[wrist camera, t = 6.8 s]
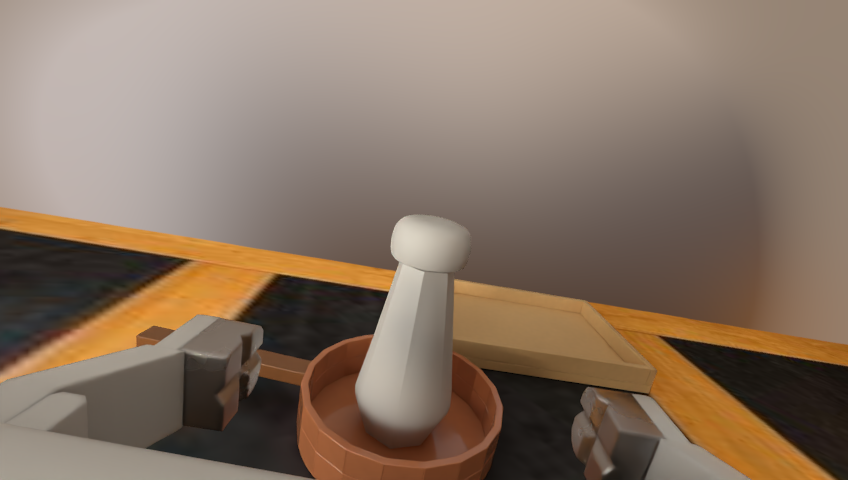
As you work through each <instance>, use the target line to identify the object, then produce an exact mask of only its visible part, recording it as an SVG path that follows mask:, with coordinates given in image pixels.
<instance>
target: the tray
mask: <svg viewBox="0 0 848 480" xmlns="http://www.w3.org/2000/svg"><path fill="white" fill-rule="evenodd" d="M453 351H454V352H456V353H458V354H460V355H462V356H464V357H465V358H467V359H468V360H469V361H470V362H472V363H473V364H474V365H476V366H477V367H478V368H483V369H490V370H497V371H503V372H510V373H516V374H523V375H530V376H536V377H543V378H549V379H556V380H562V381H569V382H576V383H582V384H589V385H595V386H602V387H609V388H615V389H622V390H628V391H635V392H641V393H649V391H650V389H651V385H652V383H653V381H654V378H655V375H656V373H657V370H656V369H655V368H654V367H653V366H652V365H651V364H650V363H649V362H648V361H647V360H646V359H645V358H644V357H643V356H642V355H641V354H640V353H639V352H638V351H637V350H636V349H635V348H634V347H633V346H632V345H631V344H630V343H629V342H628V341H627V340H626V339H625V338H624V337H623V336H622V335H621V334H620V333H619V332H618V331H617V330H616V329H615V328H614V327H613V326H612V325H611V324H609V323H608V322H607V321H606V320H605V319H604V318H603V317H602V316H601V315H600V314H599V313H598V312H597V311H596V310H595V309H594V308H593V307H592V306H591V305H590V304H589V303H588V302H587V301H584V300H578V299H572V298H566V297H560V296H554V295H548V294H542V293H536V292H530V291H523V290H518V289H511V288H505V287H500V286H493V285H488V284H481V283H475V282H469V281H463V280H457V279H454V311H453Z"/></svg>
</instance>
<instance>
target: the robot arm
mask: <svg viewBox="0 0 848 480" xmlns="http://www.w3.org/2000/svg"><path fill="white" fill-rule="evenodd" d="M262 343H263V329H262V327H261V326H258V325H253V324H248V323H243V322H238V321H233V320H228V319H223V318H220V317H214V316H208V315H196V316H195V317H194V318H192V319H191V320H189V321H188V322H187V323H185V324H184V325H182V326H181V327H180V328H178V329H177V330H175V331H174V332H173V333H171V334H170V335H168V336H167V337H166V338H164V339H163V340H161V341H160V342H159V343H157V344H156V345H148V344H147V345H143V346H139V347H135V348H131V349H127V350H123V351H119V352H115V353H111V354H107V355H103V356H99V357H95V358H91V359H87V360H83V361H79V362H75V363H71V364H67V365H63V366H59V367H55V368H51V369H47V370H44V371H40V372H36V373H32V374H28V375H24V376H20V377H16V378H12V379H8V380H6V381H4V382H2V383H0V480H316V479H310V478H305V477H299V476H294V475H288V474H282V473H277V472H271V471H266V470H260V469H255V468H249V467H244V466H238V465H233V464H227V463H222V462H216V461H210V460H205V459H199V458H194V457H188V456H183V455H177V454H172V453H166V452H161V451H155V450H150V449H145V448H146V447H148V446H150V445H152V444H154V443H155V442H157V441H159V440H161V439H163V438H164V437H166V436H168V435H170V434H172V433H173V432H175V431H177V430H179V429H181V428H182V425H183V426H190V427H196V428H203V429H210V430H216V431H223V429H224V428H225V427H226V425H227V424H228V423H229V421H230V420H231V419H232V417H233V416H234V415H235V413H236V412H237V411H238V402H239V401H241V400H243V399H246V398H247V397H248V396H249V394H250V393H251V392H252V390H253V388H254V386H255V384H256V381H257V379H258V376H259V372H260V367H261V358H260V356H259V354H258V353H257V351H256V350H257V349H258V348H259V347H260V345H261V344H262ZM580 402H581V404H582V407H583V409H584V410H583V411H582V412H580V413H579V414H578V415H576V416H575V419H574V422H573V426H572V438H571V440H572V445H573V450H574V452H575V455H576V457H577V458H578V459H579V460H580V461H581V462H582V463H583V464H584V465H585V466H586V468H585V471H584V476H585V478H586V480H751V479H750V478H748V477H747V476H745V475H744V474H742V473H740V472H739V471H737V470H736V469H734V468H733V467H731V466H730V465H728V464H726V463H725V462H723V461H722V460H720V459H719V458H717V457H715V456H714V455H712V454H711V453H709V452H708V451H706V450H705V449H703V448H701V447H700V446H698V445H695V444H691V443H690V442H689V441H688V440H687V438H686V437H685V436H684V435H683V434H682V433H681V431H680V430H679V429H678V428H677V427H676V425H675V424H674V423H673V422H672V421H671V419H670V418H669V417H668V416H667V415H666V413H665V412H664V411H663V410H662V409H661V407H660V406H659V405H658V404H657V403H656V401H655V400H654V399H652V398H650V397H649V396H644V395H637V394H630V393H624V392H617V391H611V390H605V389H598V388H591V387H587V388H586V389H585V391H584V392H583V395H582V398H581V400H580Z"/></svg>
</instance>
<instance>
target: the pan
mask: <svg viewBox="0 0 848 480" xmlns="http://www.w3.org/2000/svg"><path fill="white" fill-rule="evenodd" d="M373 336H374V335H365V336H360V337H356V338H351V339H346V340H343V341H341V342H339V343H337V344H335V345H333V346H331V347H328V348H326V349H325V350H323V351H322V352H321V353H320V354H319V355H318V356H317V357H316V358H315V359H314V360H313V361H312V362H310V363H309V365H308V367H307V370H306V372H305V375H304V377H303V379H302V382H301V388H300V397H299V405H298V414H297V423H296V424H297V443H298V447H299V451H300V454H301V457H302V459H303V461H304V463H305V465H306V467H307V468H308V470H309V471H310V473H311V474H312V476H313V477H314V478H315V479H316V480H484V479H485V477H486V475H487V473H488V471H489V469H490V467H491V464H492V460H493V456H494V453H495V449H496V445H497V442H498V438H499V434H500V431H501V425H502V415H503V406H502V403H501V400H500V397H499V395H498V392H497V389H496V387H495V386H494V385H493V383H492V382H491V381H490V380H489V378H488V377H487V376H486V375H485V373H484V372H483V371H482V370H481V369H480V368H478V367H477V366H476V365H474V364H473V363H472V362H470V361H469V360H468V359H467V358H465V357H464V356H462V355H460V354H458V353H456V352H454V351H453V352H452V393H451V403H450V408H449V410H448V413H447V415H446V416H445V417H444V418H443V419H442V420H441V421H440V422H439V423H438V425H437V426H436V427H435V428H434V429H433V430H432V432H431V433H430V434H429V435H428V437H427V438H426V439H425V440H424V441H423V443H422V444H421V445H418V446H410V447H401V448H393V449H390V448H388V447H387V446H385V445H384V444H383V443H381V442H380V441H378V440H377V439H375V438H374V437H372V436H371V435H369V434H368V433H366V431H365V427H364V424H363V420H362V417H361V414H360V410H359V407H358V403H357V399H356V395H355V384H356V381H357V378H358V376H359V373H360V371H361V368H362V365H363V363H364V360H365V357H366V355H367V352H368V349H369V347H370V344H371V341H372V339H373Z"/></svg>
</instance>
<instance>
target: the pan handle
mask: <svg viewBox="0 0 848 480" xmlns="http://www.w3.org/2000/svg"><path fill="white" fill-rule="evenodd" d="M174 331H175V330H171V329H166V328H162V327H158V326H152V327H151V328H149V329H147V330H145V331H144V332H142V333H140V334H139V335H137V336H136V338H137V347H139V346H143V345H147V344H148V345H156V344H157V343H159V342H160V341H161V340H163V339H164V338H166V337H167V336H168V335H170V334H171V333H173V332H174ZM256 351H257V353H258V354H259V356H260V358H261V367H260V372H259V376H260V377H265V378H269V379H273V380H278V381H282V382H286V383H291V384H295V385H299V386H301V382H302V379H303V377H304V375H305V372H306V370H307V367H308V365H309V363H310V362H312V361H309V360H304V359H300V358H295V357H291V356H287V355H282V354H278V353H273V352H269V351H264V350H260V349H257V350H256Z"/></svg>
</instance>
